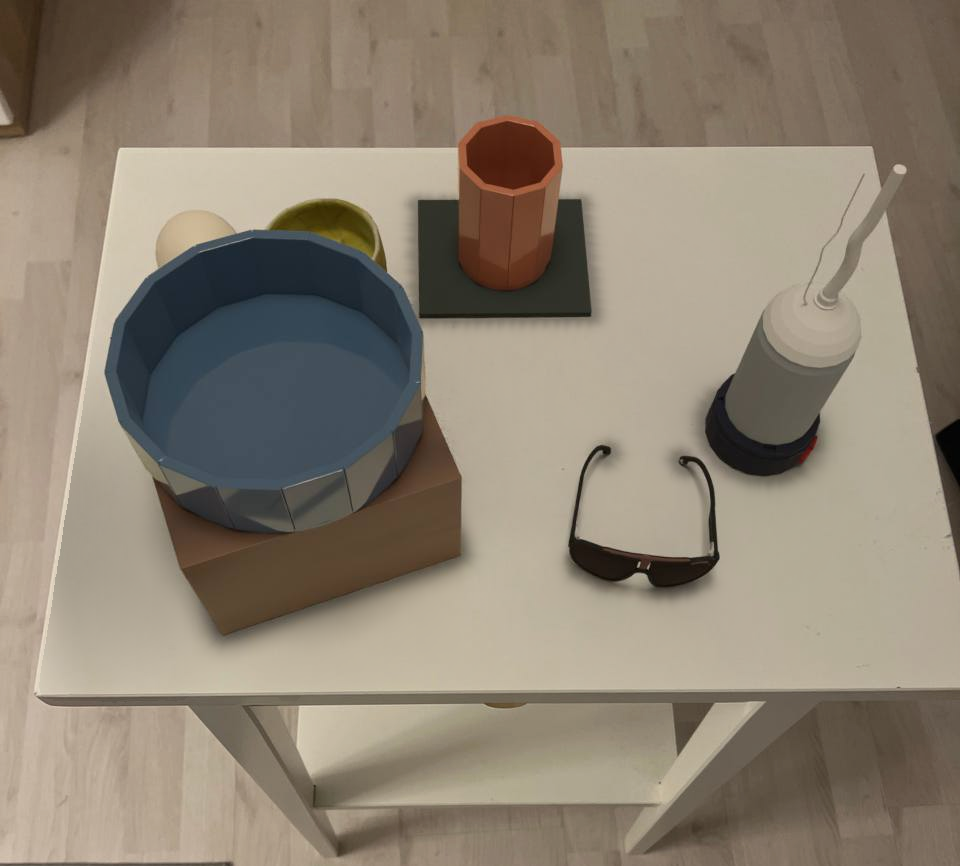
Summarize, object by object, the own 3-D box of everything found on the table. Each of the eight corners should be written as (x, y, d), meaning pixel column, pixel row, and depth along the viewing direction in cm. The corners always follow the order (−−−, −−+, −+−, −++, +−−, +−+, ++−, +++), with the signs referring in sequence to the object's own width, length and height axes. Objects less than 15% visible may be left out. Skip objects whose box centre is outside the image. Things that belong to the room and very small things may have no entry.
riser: (158, 430, 73) (109, 336, 63) (380, 363, 76) (369, 263, 65) (222, 635, 67) (180, 569, 57) (460, 555, 70) (462, 478, 60)
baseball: (250, 246, 79) (232, 182, 73) (255, 317, 77) (238, 256, 71) (167, 255, 79) (143, 190, 73) (171, 326, 76) (145, 266, 70)
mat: (419, 317, 77) (419, 313, 77) (418, 204, 82) (417, 199, 81) (590, 316, 78) (591, 312, 77) (580, 203, 82) (581, 198, 82)
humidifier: (818, 474, 73) (989, 225, 50) (712, 477, 73) (834, 229, 49) (800, 385, 76) (953, 110, 53) (698, 388, 76) (807, 113, 52)
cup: (443, 233, 80) (441, 131, 70) (530, 208, 81) (540, 105, 72) (475, 302, 77) (478, 205, 68) (565, 275, 79) (580, 177, 69)
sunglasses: (561, 586, 69) (569, 548, 64) (573, 458, 75) (582, 414, 70) (706, 605, 69) (724, 568, 64) (708, 475, 74) (725, 432, 70)
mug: (408, 238, 78) (373, 174, 68) (407, 362, 77) (372, 315, 67) (266, 250, 80) (212, 189, 70) (265, 371, 79) (210, 326, 70)
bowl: (105, 335, 63) (75, 276, 58) (371, 260, 65) (364, 198, 60) (177, 573, 57) (150, 531, 52) (466, 479, 59) (467, 431, 54)
